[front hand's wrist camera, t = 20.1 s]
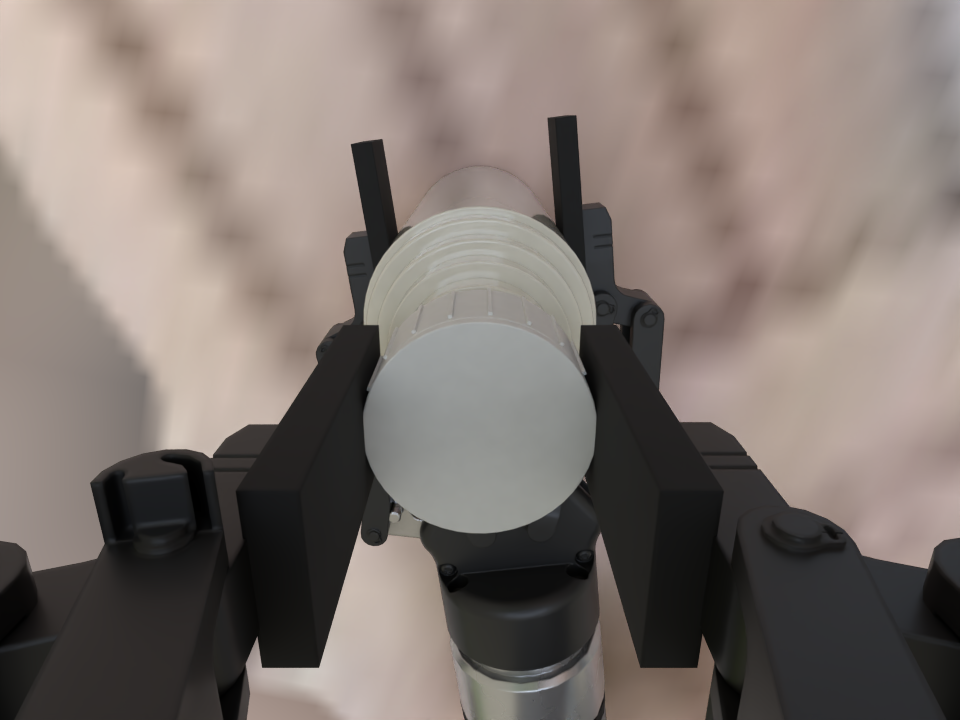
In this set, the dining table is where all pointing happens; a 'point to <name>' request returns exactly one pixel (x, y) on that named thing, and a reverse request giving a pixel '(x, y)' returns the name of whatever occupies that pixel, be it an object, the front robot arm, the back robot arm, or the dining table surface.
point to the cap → (479, 413)
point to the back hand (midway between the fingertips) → (463, 130)
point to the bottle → (479, 254)
